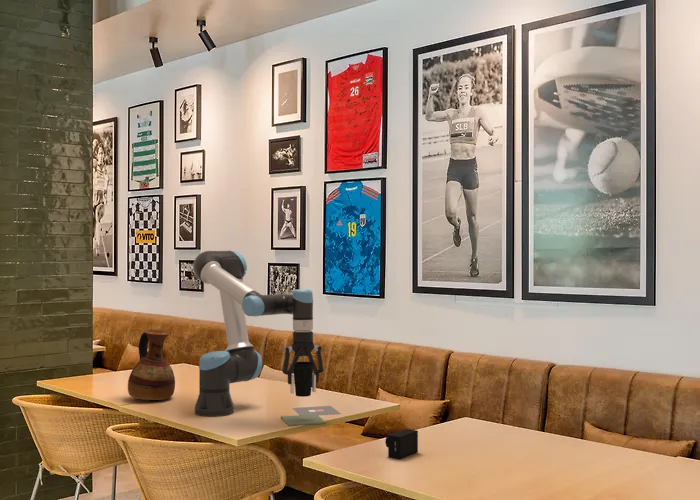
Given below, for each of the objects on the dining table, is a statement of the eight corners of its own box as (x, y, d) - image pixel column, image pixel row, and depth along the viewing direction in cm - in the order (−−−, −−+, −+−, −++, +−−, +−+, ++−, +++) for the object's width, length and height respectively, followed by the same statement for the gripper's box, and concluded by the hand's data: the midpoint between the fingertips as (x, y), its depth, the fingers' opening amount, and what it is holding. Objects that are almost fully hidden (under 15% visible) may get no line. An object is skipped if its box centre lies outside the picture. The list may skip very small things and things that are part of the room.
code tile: (300, 418, 287) (300, 416, 287) (292, 410, 302) (292, 407, 302) (341, 416, 291) (341, 413, 291) (330, 408, 307) (330, 405, 307)
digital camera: (403, 449, 237) (403, 427, 237) (417, 452, 234) (417, 430, 234) (384, 457, 229) (384, 434, 229) (399, 459, 226) (399, 436, 226)
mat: (288, 426, 270) (288, 424, 270) (280, 418, 283) (280, 416, 283) (325, 423, 274) (325, 422, 274) (316, 415, 287) (316, 414, 287)
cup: (288, 396, 277) (288, 363, 277) (299, 392, 284) (299, 361, 284) (306, 397, 273) (306, 364, 274) (317, 394, 280) (317, 362, 280)
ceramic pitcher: (147, 405, 307) (147, 332, 307) (117, 400, 319) (117, 329, 319) (184, 398, 322) (185, 329, 322) (154, 393, 334) (155, 326, 335)
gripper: (277, 332, 273) (277, 395, 272) (332, 331, 278) (332, 392, 278) (273, 330, 280) (274, 392, 279) (327, 329, 285) (327, 389, 285)
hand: (303, 392), depth 279 cm, fingers closed on cup, 8 cm apart
